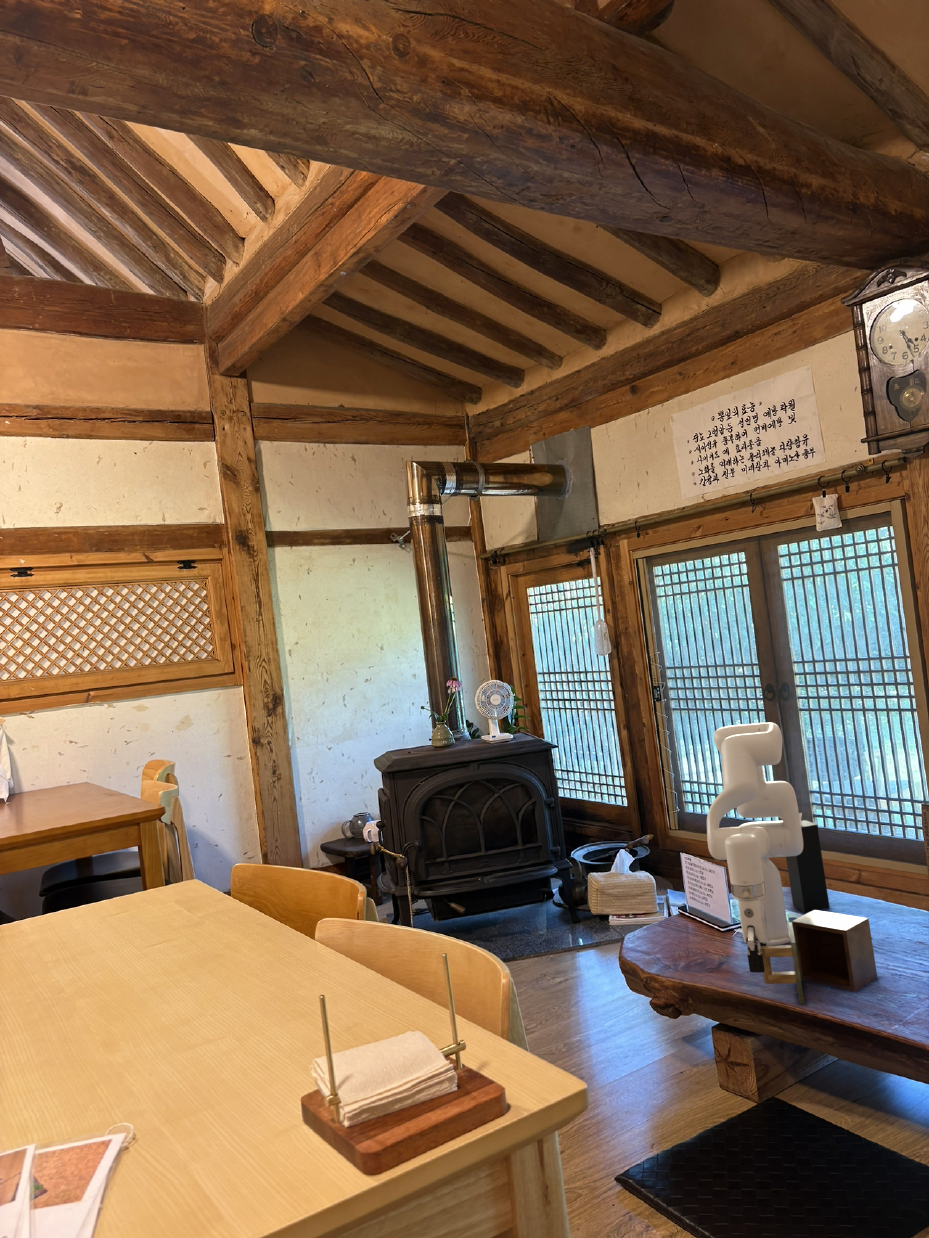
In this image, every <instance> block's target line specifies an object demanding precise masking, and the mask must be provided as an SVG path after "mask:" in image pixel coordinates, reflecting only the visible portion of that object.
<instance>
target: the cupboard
mask: <svg viewBox="0 0 929 1238" xmlns="http://www.w3.org/2000/svg"><path fill="white" fill-rule="evenodd" d="M791 923H792V925H793V931H794V937H795V942H796V949H797V956H798V963H799V969H800V976H801V981H806V982H810V983H815V984H817V985H818V984H819V985H823V986H828V987H832V988H836V989H841V990H845V991H850V992H854V993H856V992H857V991H859V990H861V989H862V988H864V987H866V986H867V985H868V984H870V983H872V982H873V981H875V980H877V979H878V973H877V966H876V959H875V958H876V957H875V953H874V946H873V939H872V932H871V926H870V920H869V918H868V917H864V916H858V915H857V916H856V915H849V914H844V913H838V912H831V911H826V910H825V911H824V910H813V911H810V912H806V913H805V914H803V915H801V916H799V917H798V918H796V919H793V920H791Z"/></svg>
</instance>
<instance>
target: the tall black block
mask: <svg viewBox="0 0 929 1238" xmlns="http://www.w3.org/2000/svg"><path fill="white" fill-rule="evenodd" d="M799 817H800V824H801V830H802V836H803V851H802V853H801V854H799V855H797V856H788V857H785V860H786V867H787V873H788V879H789V884H790V885H789V887H790V892H791V900H792V906H793V907H795V908H796V909H798V910H799V911H801V912H802V913H809V912H811V911H813V910H819V911H823V910H827V909H831V908H830V907H831V906H830V902H829V901H830V900H829V893H828V887H827V880H826V873H825V868H824V861H823V854H822V853H823V852H822V848H821V841H820V834H819V825H818V823H814V822H811V821H808V820H806V819H804V820H803V819H802V818H803V812H799Z"/></svg>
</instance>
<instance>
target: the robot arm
mask: <svg viewBox="0 0 929 1238" xmlns="http://www.w3.org/2000/svg"><path fill="white" fill-rule="evenodd" d="M713 742H714V744H715V747H716V750H717V751H718V752H719V753H720V756H721V773H722V788H723V789H722V791H721V792H720V793H719V794H718V795H717V796H716V797H715V798H714V800H713V802H712V803H711V804H710V807H709V808H708V812H707V816H706V840H707V848H708V852H709V854H710V855H711V857H712V858H713V859H715V860H718V861H726V863H727V869H728V870H727V871H728V875H729V876H728V877H729V882H730V883H729V884H730V889H731V896H732V899H734V900H737V905H738V913H739V920H740V927H741V931H742V938H743V942H744V943H745V944H746V945H747V946H746V948H747V961H748V968H749V972H750V973H762V974H763V972H764V971H765V968H764V962H763V955H762V954H761V947H760V946H775V945H787V944H788V943H791V942H790V935H789V928H788V917H787V913H786V911H787V910H786V905H785V898H784V891H783V884H782V877H781V873H780V871H779V870H780V869H778V867H777V866H776V864H774V863H773V862H772V861H771V860H770V858H771V859H772V858H786V857H788V856H797V855H799V854H801V853H802V851H803V836H802V830H801V824H800V817H799V813H800V812H799V811H800V810H799V806H798V800H797V795H796V792H795V789H794V787H793V786H792V784H791V783H789V782H787V781H785V780H774V781H766V780H765V776H764V769H763V766H764V767H765V766H766V767H767V766H775V765H778V764H779V763H780V762H781V760H782V756H783V755H782V754H783V735H782V731H781V728H780V727H779V725H778V724H776V723H775V722H758V723H745V724H734V725H733V724H732V725H726V726H722V727H719V728H717V729H716V730H715V731H714V732H713ZM734 809H736V811H737V813H738V815H739V816H741V817H742V818H744V819H745V818H746V819H764V818H765V819H766V818H767V819H768V818H779V819H781V820H771V821H765V820H764V821H750V822H745V823H742V824H740V825H739V826H729V827H720V823H721V821H722V819H723V818H724V817H725V816H726V815H727V814H728V813H729V812H731V811H732V810H734Z"/></svg>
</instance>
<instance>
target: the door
mask: <svg viewBox="0 0 929 1238" xmlns="http://www.w3.org/2000/svg"><path fill="white" fill-rule="evenodd" d="M787 924H788V929H789V935H790V942H789V943H790V944H781V945H767V946H760V947H761V954H762V955H763V962H764V968H765V971H764V972H763V973H762V976H763V982H764V984H767V985H783V984H785V985H786V984H787V985H789V984H796V989H797V995H798V1001H799V1004H800V1005H805V1004H806V1003H805V997H804V990H803V984H802V980H801V976H800V969H799V963H798V956H797V949H796V942H795V937H794V931H793V925H792V922H787ZM788 957H789V958H791V957H792V962H793V963H792V964H793V968H794V970H793V971H773V969H772V962H771V958H788Z"/></svg>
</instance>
